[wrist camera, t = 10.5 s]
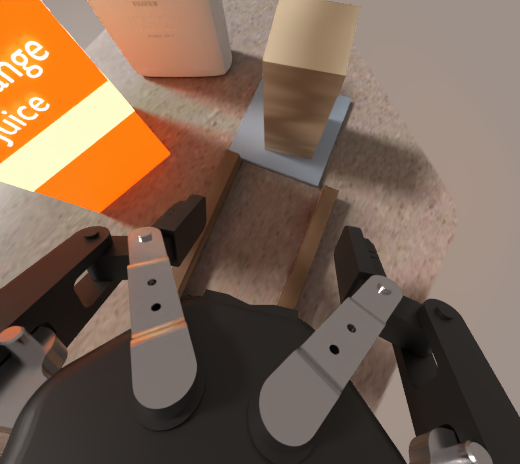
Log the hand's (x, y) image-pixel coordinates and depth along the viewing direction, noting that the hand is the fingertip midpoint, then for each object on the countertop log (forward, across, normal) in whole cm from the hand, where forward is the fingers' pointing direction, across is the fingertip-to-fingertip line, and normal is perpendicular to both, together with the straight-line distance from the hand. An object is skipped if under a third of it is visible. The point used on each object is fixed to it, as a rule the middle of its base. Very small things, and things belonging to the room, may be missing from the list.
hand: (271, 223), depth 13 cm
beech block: (+12, 0, -3) cm, 12 cm away
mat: (+13, 0, -3) cm, 13 cm away
